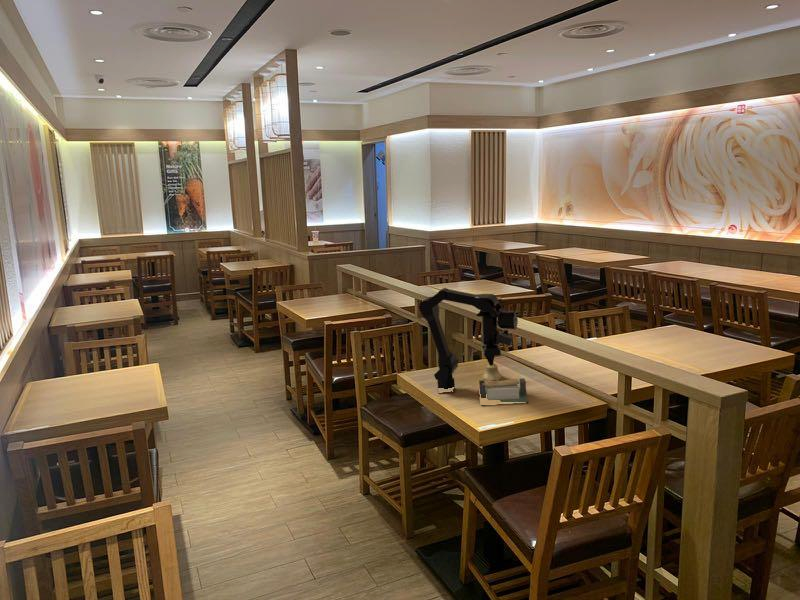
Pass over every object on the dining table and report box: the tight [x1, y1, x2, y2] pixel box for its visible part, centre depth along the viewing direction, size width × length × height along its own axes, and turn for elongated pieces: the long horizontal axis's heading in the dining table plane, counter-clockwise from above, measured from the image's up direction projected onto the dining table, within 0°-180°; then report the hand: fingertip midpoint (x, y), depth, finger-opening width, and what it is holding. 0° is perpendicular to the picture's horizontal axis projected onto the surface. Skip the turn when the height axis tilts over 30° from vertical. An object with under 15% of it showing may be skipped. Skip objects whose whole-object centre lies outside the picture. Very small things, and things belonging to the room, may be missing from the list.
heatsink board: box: [478, 377, 529, 403], centre depth 232 cm, size 18×14×6 cm
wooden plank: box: [482, 378, 520, 388], centre depth 232 cm, size 14×3×1 cm, turn 86°
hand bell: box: [482, 361, 503, 381], centre depth 251 cm, size 8×8×16 cm
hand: (491, 365), depth 233 cm, fingers closed
